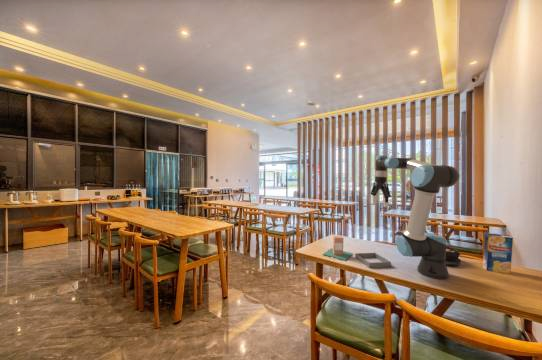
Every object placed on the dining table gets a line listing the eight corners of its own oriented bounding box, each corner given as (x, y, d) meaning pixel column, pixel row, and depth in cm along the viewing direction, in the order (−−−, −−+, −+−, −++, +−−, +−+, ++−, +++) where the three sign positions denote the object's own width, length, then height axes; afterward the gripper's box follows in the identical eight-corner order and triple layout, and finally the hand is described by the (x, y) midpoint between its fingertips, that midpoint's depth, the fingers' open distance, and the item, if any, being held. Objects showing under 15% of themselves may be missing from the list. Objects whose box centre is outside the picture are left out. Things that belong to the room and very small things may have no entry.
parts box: (341, 252, 168) (341, 235, 168) (342, 255, 162) (343, 238, 162) (332, 251, 169) (333, 235, 168) (334, 254, 163) (334, 237, 162)
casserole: (423, 252, 175) (424, 241, 174) (453, 256, 168) (454, 245, 168) (432, 264, 152) (433, 252, 151) (468, 269, 145) (469, 256, 144)
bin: (390, 266, 146) (391, 262, 146) (369, 267, 144) (369, 263, 144) (374, 257, 163) (375, 252, 163) (355, 257, 161) (355, 253, 160)
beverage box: (510, 274, 139) (513, 237, 139) (486, 270, 144) (488, 235, 144) (505, 270, 145) (508, 235, 145) (482, 266, 151) (484, 232, 150)
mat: (352, 254, 167) (352, 253, 167) (345, 260, 154) (345, 259, 154) (331, 249, 177) (331, 248, 177) (322, 255, 164) (322, 254, 164)
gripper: (397, 177, 160) (395, 208, 161) (375, 176, 185) (374, 203, 185) (387, 177, 159) (385, 208, 160) (366, 176, 183) (365, 203, 184)
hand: (379, 205), depth 172 cm, fingers open, 13 cm apart
